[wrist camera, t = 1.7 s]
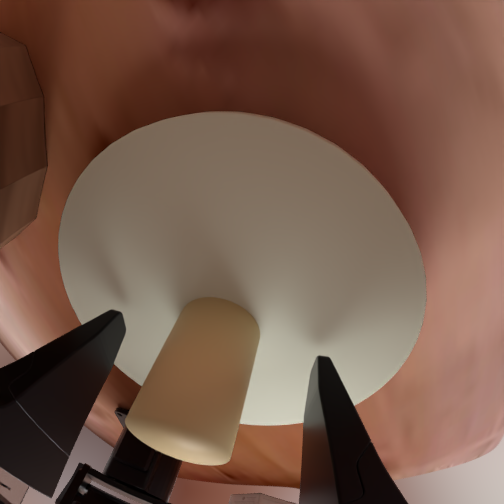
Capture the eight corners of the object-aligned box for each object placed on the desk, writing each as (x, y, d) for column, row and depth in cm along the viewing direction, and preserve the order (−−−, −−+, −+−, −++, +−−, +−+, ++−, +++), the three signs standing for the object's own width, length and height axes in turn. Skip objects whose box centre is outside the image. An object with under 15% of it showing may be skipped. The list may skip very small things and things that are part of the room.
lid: (347, 400, 15) (344, 513, 9) (120, 351, 16) (66, 441, 10) (452, 153, 8) (599, 260, 2) (80, 108, 9) (-73, 162, 3)
